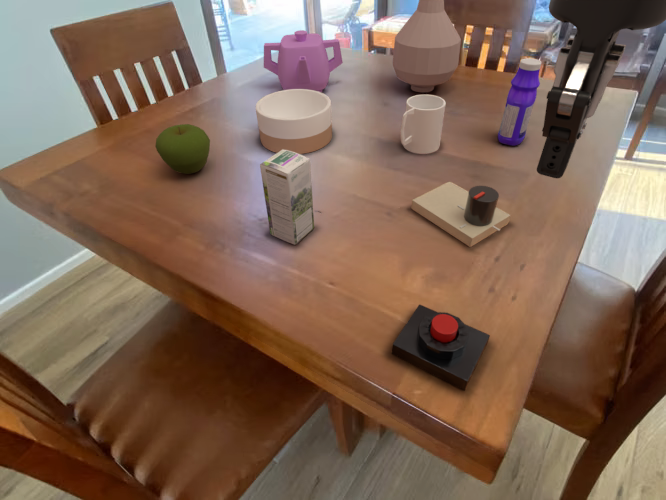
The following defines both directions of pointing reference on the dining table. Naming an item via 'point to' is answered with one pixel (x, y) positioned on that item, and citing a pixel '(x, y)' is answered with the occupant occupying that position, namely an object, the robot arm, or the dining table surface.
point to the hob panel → (455, 213)
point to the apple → (184, 148)
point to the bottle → (520, 102)
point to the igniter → (440, 348)
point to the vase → (426, 47)
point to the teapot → (303, 60)
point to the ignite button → (444, 328)
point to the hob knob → (481, 205)
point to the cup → (422, 123)
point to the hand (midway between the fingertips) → (550, 172)
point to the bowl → (294, 120)
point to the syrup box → (288, 195)
